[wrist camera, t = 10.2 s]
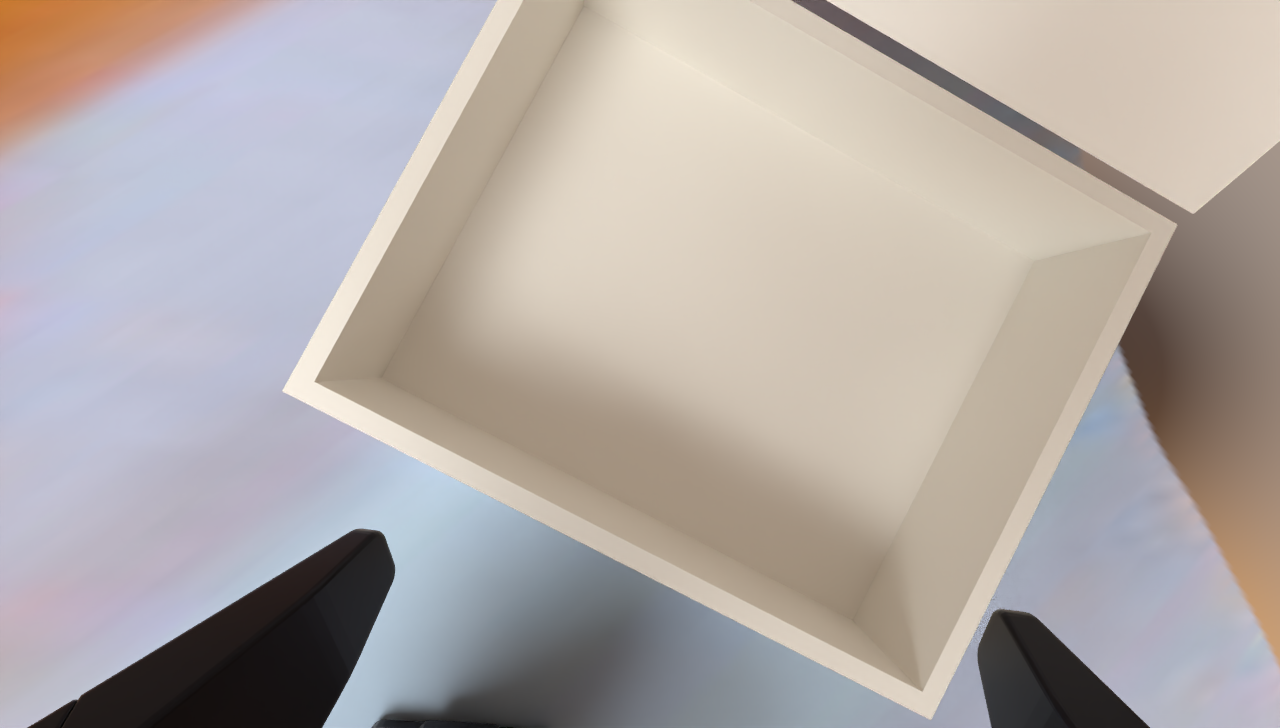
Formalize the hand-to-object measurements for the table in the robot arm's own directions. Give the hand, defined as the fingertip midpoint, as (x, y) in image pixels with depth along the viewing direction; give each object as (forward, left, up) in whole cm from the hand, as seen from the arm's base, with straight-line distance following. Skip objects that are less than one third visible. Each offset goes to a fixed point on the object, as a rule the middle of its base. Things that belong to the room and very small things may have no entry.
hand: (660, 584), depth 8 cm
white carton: (+5, -3, -12) cm, 13 cm away
